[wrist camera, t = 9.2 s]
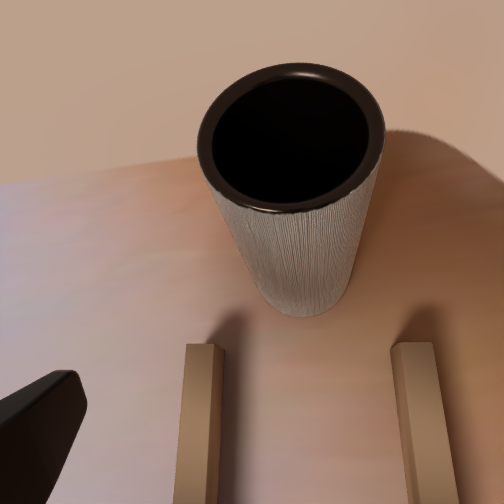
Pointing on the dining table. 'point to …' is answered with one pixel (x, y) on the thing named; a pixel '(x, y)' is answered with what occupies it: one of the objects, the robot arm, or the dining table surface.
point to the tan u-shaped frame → (409, 414)
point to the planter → (294, 177)
